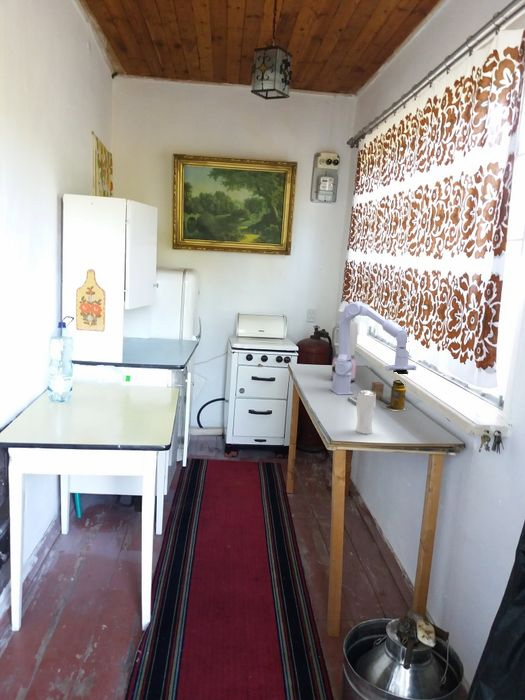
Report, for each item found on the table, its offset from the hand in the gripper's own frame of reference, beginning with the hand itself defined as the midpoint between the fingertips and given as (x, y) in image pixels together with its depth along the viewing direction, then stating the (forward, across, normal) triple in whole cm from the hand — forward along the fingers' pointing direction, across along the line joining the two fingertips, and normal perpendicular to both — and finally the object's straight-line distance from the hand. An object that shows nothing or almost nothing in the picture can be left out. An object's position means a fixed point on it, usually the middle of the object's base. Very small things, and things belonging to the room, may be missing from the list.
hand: (399, 385), depth 238 cm
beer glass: (+8, -35, -36) cm, 50 cm away
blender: (+8, -11, +40) cm, 42 cm away
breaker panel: (+7, -19, 0) cm, 20 cm away
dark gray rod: (+7, -7, 0) cm, 10 cm away
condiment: (+8, -7, -10) cm, 14 cm away
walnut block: (+7, -7, +8) cm, 12 cm away
